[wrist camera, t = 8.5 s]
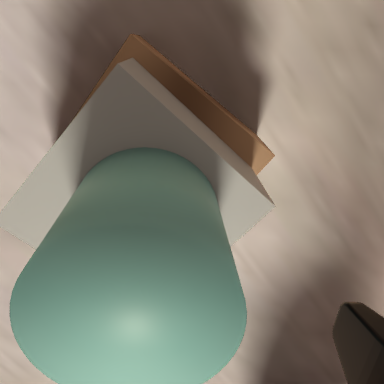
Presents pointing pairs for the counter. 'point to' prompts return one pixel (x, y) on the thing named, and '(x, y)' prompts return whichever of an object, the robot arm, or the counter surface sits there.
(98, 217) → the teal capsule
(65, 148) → the light grey block
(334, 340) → the robot arm
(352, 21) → the counter surface
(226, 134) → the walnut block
